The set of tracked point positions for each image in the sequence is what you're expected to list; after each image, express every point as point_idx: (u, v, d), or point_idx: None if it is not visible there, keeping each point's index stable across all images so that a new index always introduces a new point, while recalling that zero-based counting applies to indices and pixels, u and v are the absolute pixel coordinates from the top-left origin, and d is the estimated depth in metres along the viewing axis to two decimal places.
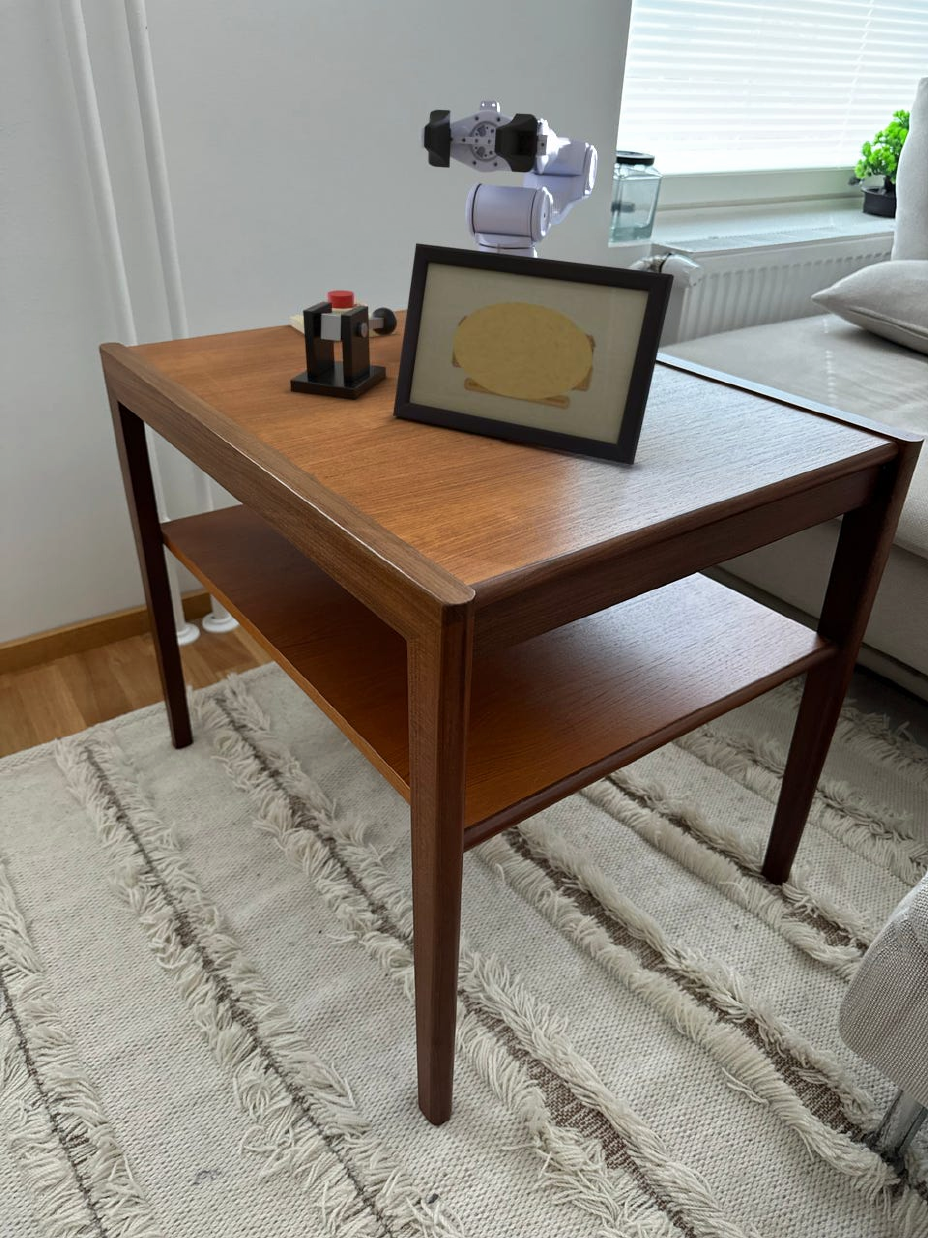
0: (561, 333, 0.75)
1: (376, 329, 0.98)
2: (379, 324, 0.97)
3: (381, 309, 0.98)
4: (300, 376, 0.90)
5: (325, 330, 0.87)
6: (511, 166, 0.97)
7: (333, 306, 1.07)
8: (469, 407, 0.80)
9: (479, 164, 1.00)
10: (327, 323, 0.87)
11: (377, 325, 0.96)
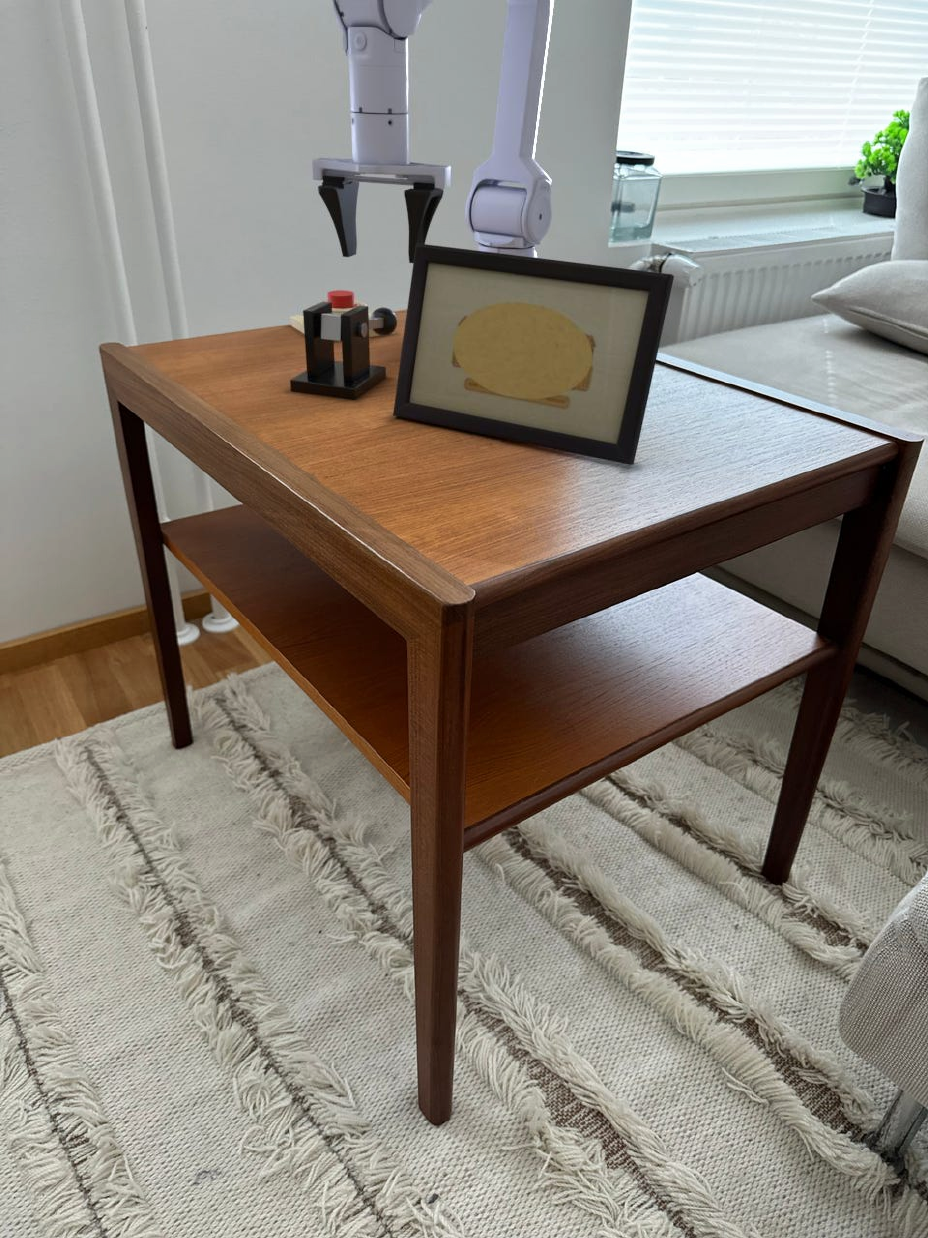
0: (561, 333, 0.75)
1: (376, 329, 0.98)
2: (379, 324, 0.97)
3: (381, 309, 0.98)
4: (300, 376, 0.90)
5: (325, 330, 0.87)
6: None
7: (333, 306, 1.07)
8: (469, 407, 0.80)
9: None
10: (327, 323, 0.87)
11: (377, 325, 0.96)
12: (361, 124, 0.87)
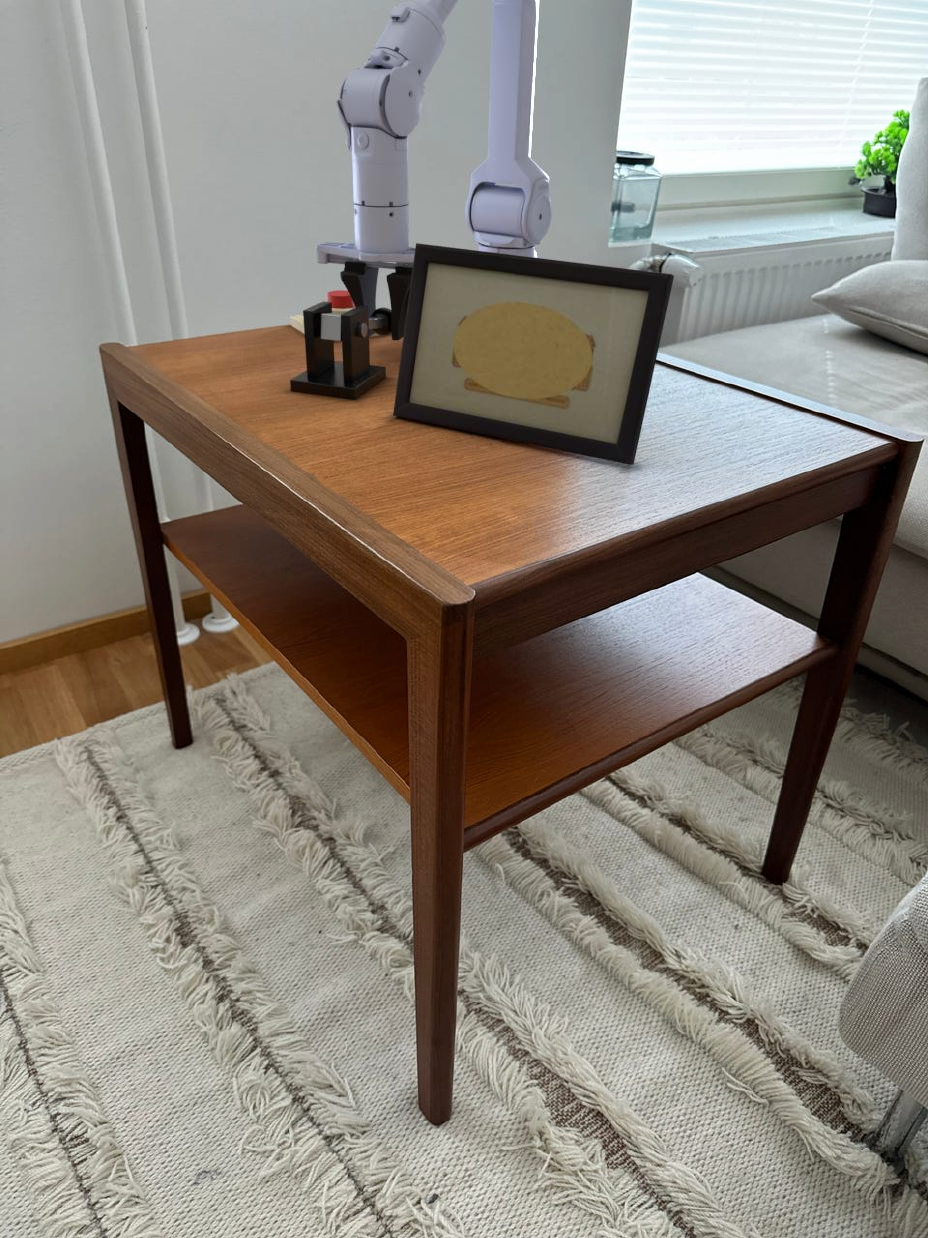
0: (561, 333, 0.75)
1: (376, 329, 0.98)
2: (379, 324, 0.97)
3: (381, 309, 0.98)
4: (300, 376, 0.90)
5: (325, 330, 0.87)
6: None
7: (333, 306, 1.07)
8: (469, 407, 0.80)
9: None
10: (327, 323, 0.87)
11: (377, 325, 0.96)
12: (364, 216, 0.91)
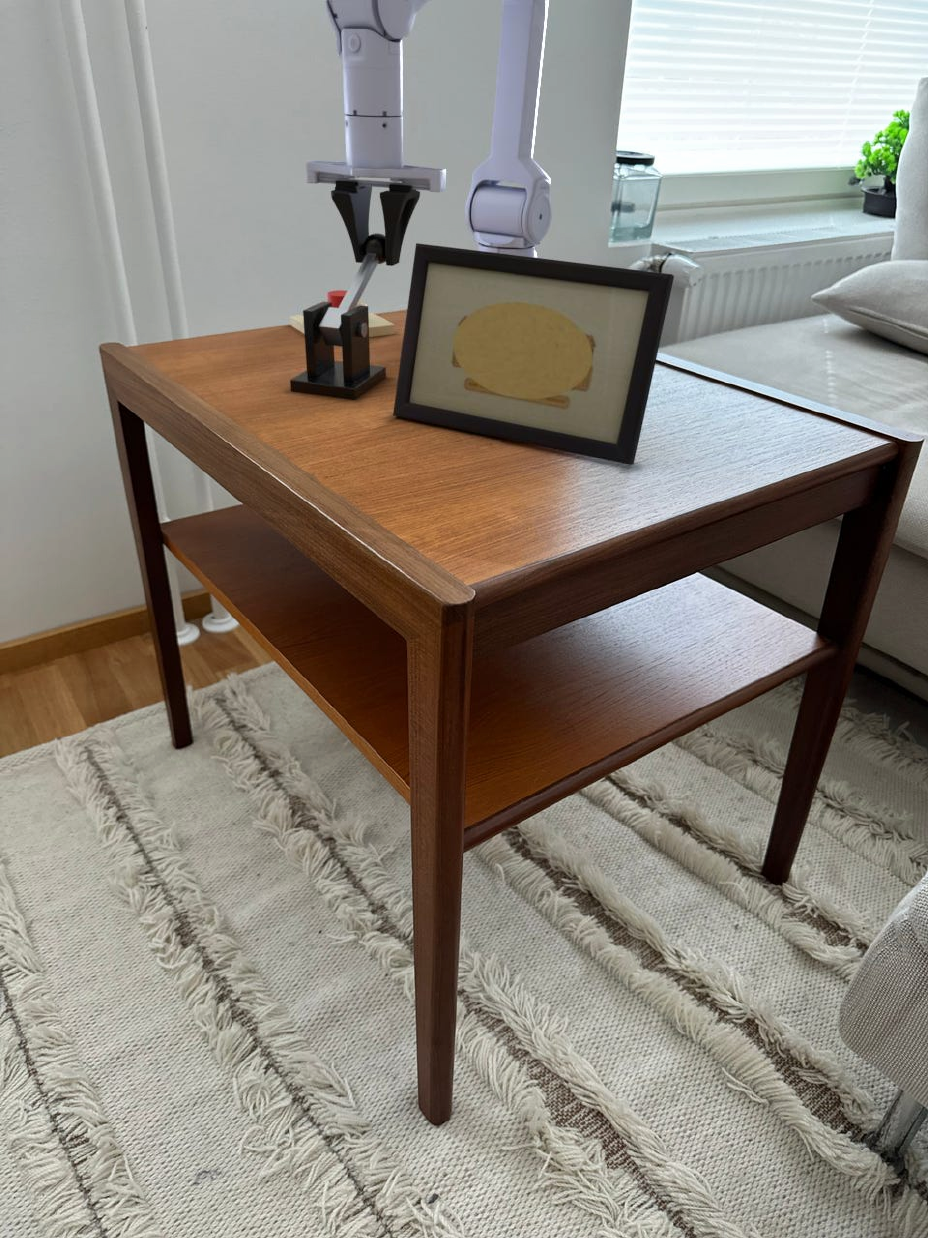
0: (561, 333, 0.75)
1: None
2: (374, 265, 0.93)
3: (372, 242, 0.93)
4: (300, 376, 0.90)
5: (327, 338, 0.88)
6: None
7: (333, 306, 1.07)
8: (469, 407, 0.80)
9: None
10: (327, 333, 0.88)
11: (373, 269, 0.93)
12: (355, 127, 0.86)
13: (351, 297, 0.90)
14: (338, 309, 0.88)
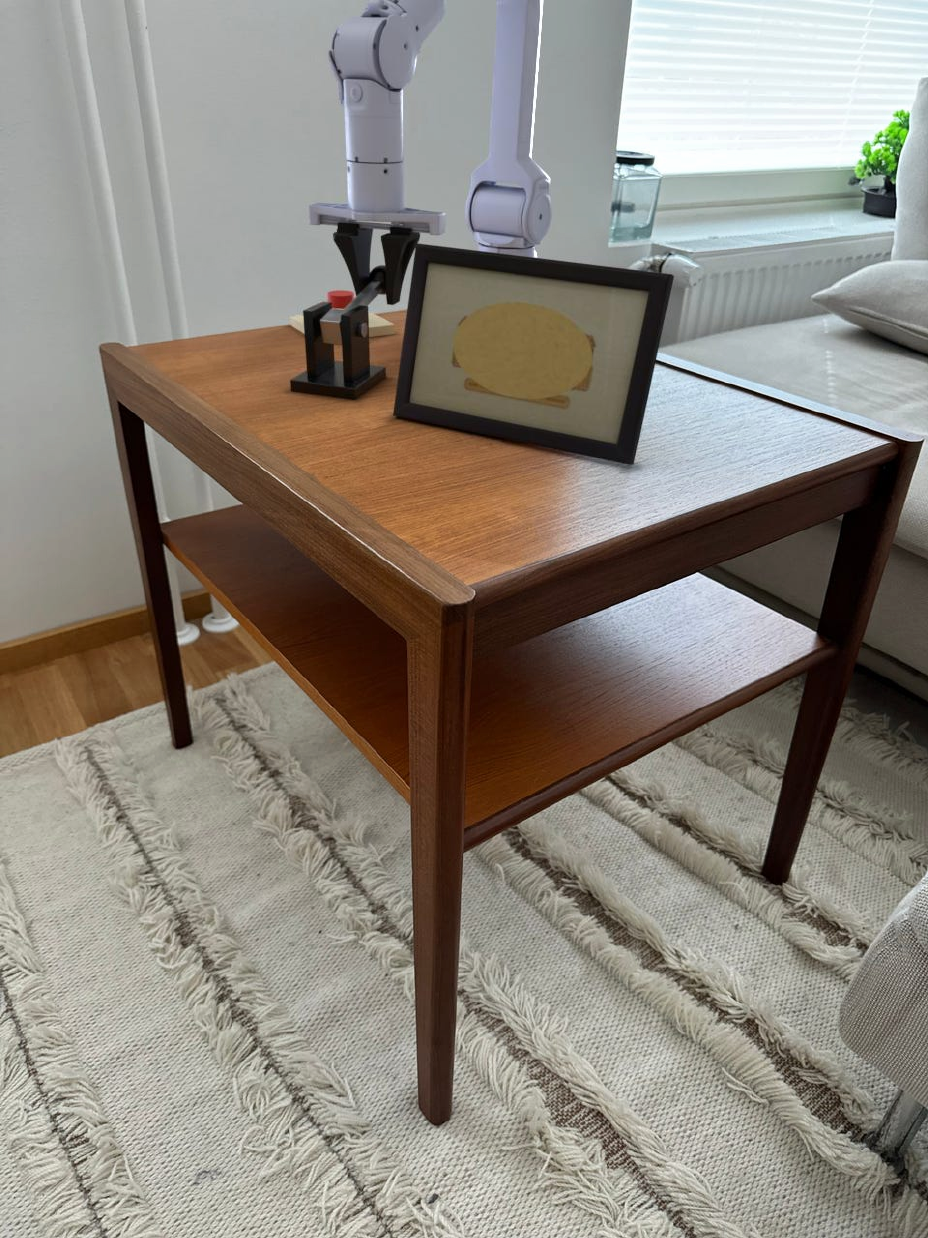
0: (561, 333, 0.75)
1: None
2: (378, 290, 0.95)
3: (378, 270, 0.95)
4: (300, 376, 0.90)
5: (326, 335, 0.88)
6: None
7: (333, 306, 1.07)
8: (469, 407, 0.80)
9: None
10: (327, 329, 0.87)
11: (376, 293, 0.95)
12: (357, 173, 0.88)
13: (354, 306, 0.91)
14: (340, 310, 0.88)
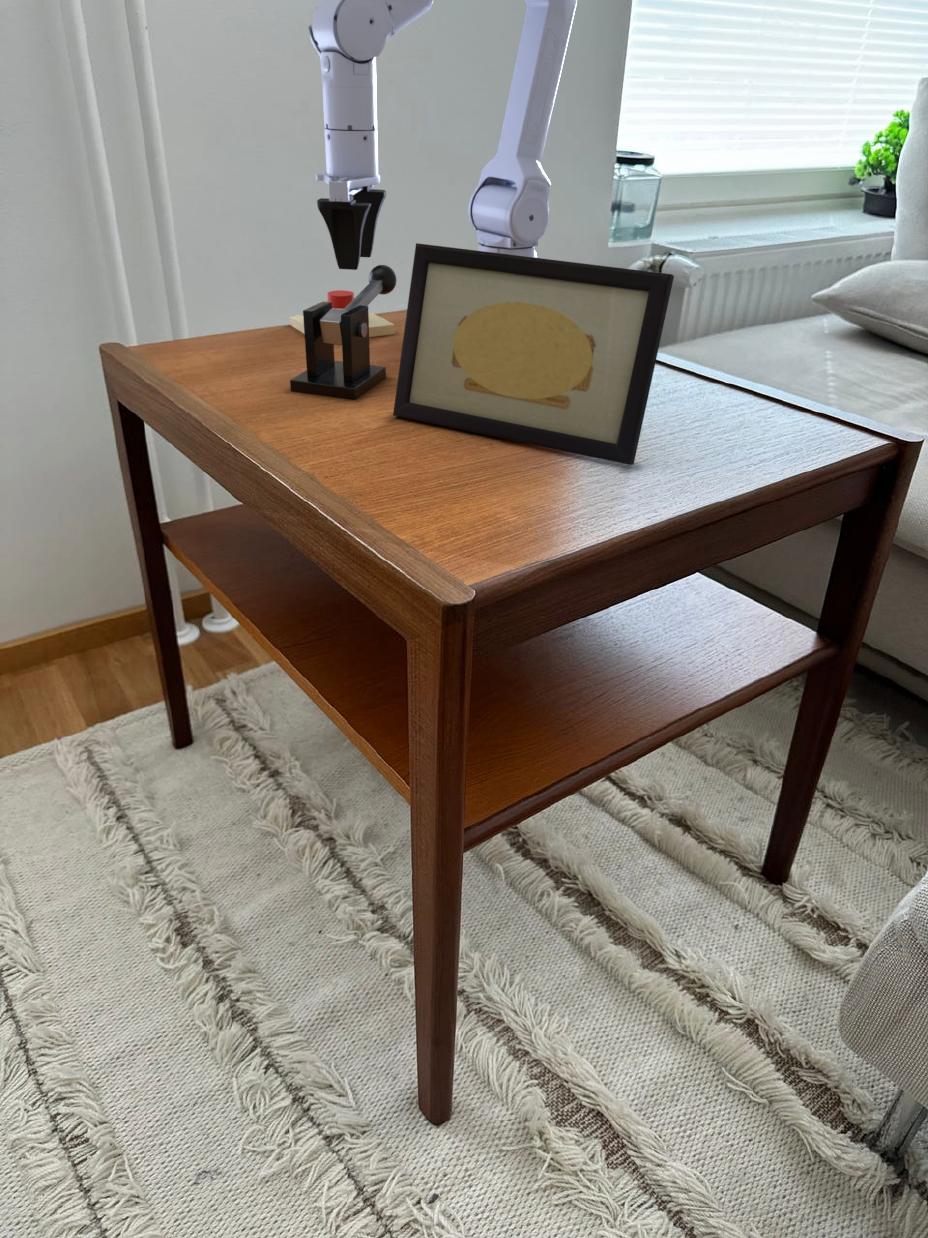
0: (561, 333, 0.75)
1: None
2: (378, 290, 0.95)
3: (378, 270, 0.95)
4: (300, 376, 0.90)
5: (326, 335, 0.88)
6: (366, 215, 0.97)
7: (333, 306, 1.07)
8: (469, 407, 0.80)
9: None
10: (327, 329, 0.87)
11: (376, 293, 0.95)
12: None
13: (354, 306, 0.91)
14: (340, 310, 0.88)
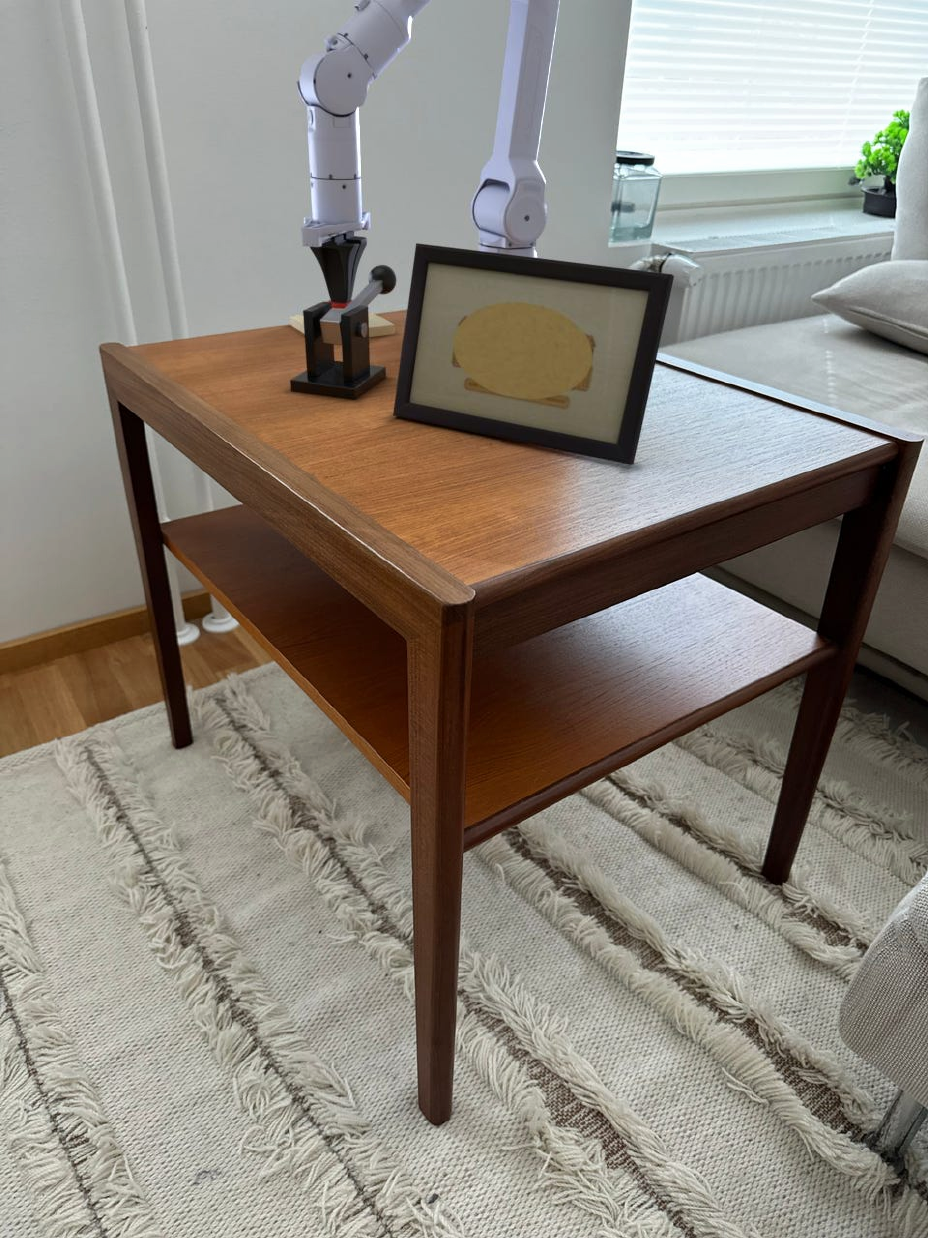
0: (561, 333, 0.75)
1: None
2: (378, 290, 0.95)
3: (378, 270, 0.95)
4: (300, 376, 0.90)
5: (326, 335, 0.88)
6: (355, 254, 1.04)
7: None
8: (469, 407, 0.80)
9: None
10: (327, 329, 0.87)
11: (376, 293, 0.95)
12: None
13: (354, 306, 0.91)
14: (340, 310, 0.88)
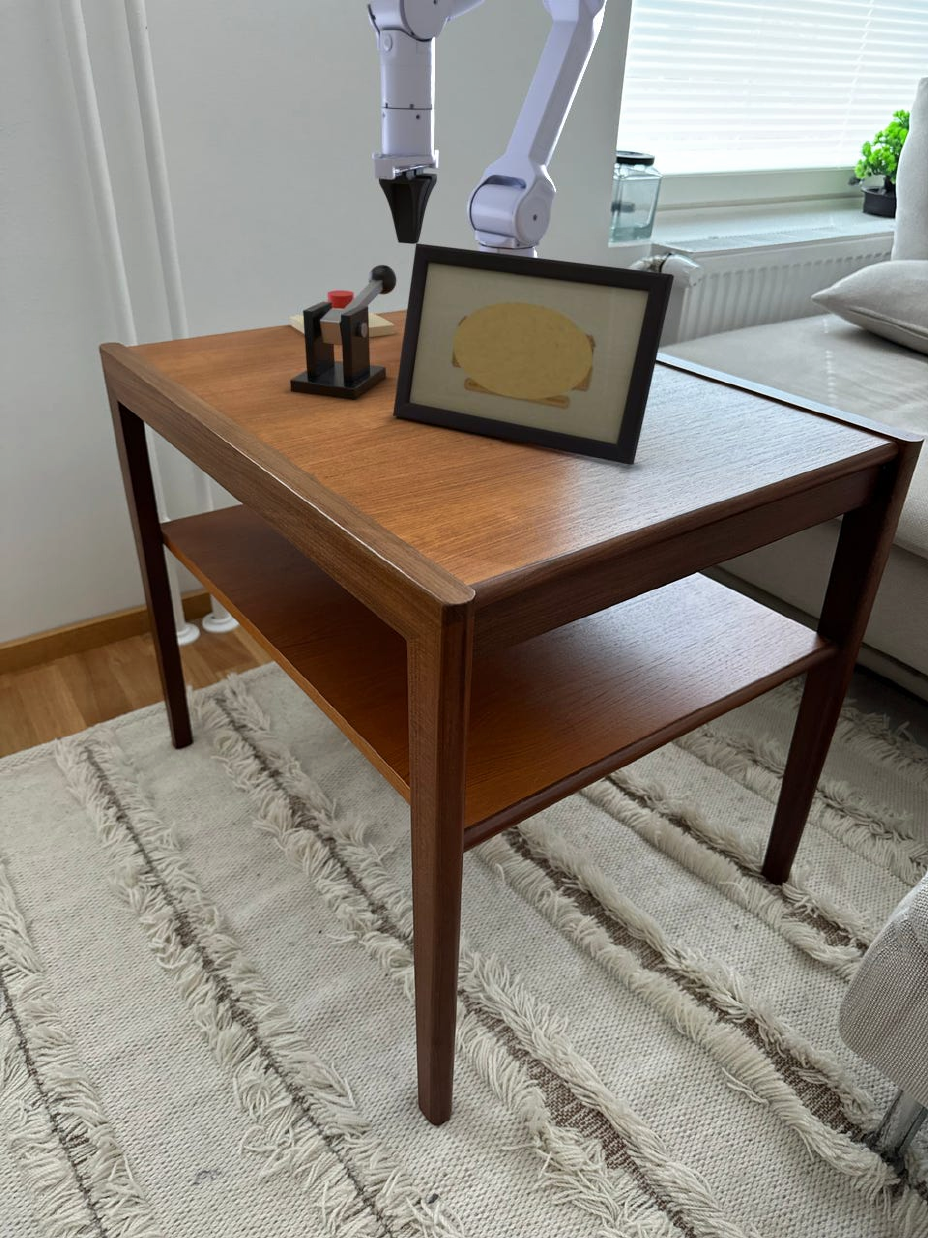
0: (561, 333, 0.75)
1: None
2: (378, 290, 0.95)
3: (378, 270, 0.95)
4: (300, 376, 0.90)
5: (326, 335, 0.88)
6: (425, 190, 1.00)
7: (333, 306, 1.07)
8: (469, 407, 0.80)
9: None
10: (327, 329, 0.87)
11: (376, 293, 0.95)
12: None
13: (354, 306, 0.91)
14: (340, 310, 0.88)
